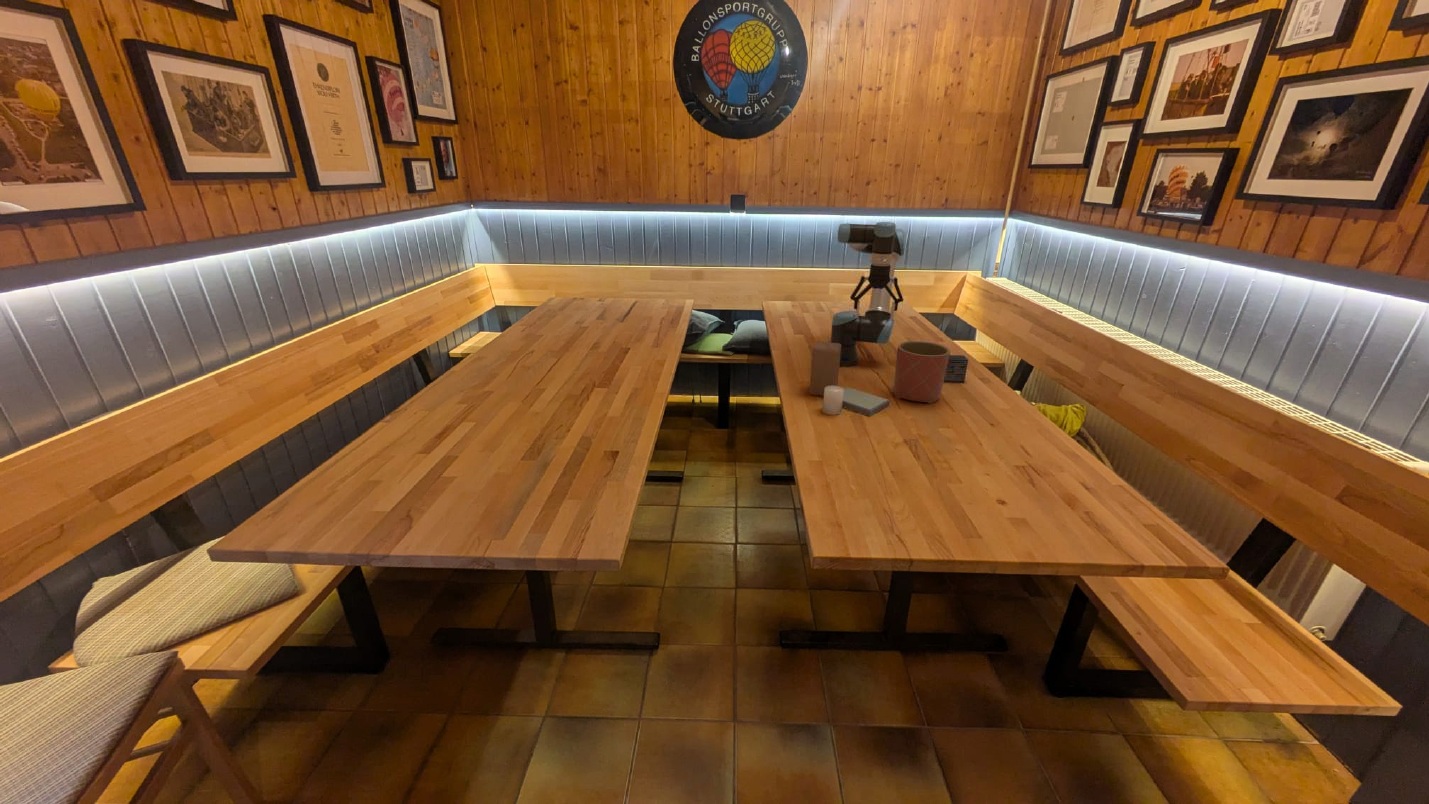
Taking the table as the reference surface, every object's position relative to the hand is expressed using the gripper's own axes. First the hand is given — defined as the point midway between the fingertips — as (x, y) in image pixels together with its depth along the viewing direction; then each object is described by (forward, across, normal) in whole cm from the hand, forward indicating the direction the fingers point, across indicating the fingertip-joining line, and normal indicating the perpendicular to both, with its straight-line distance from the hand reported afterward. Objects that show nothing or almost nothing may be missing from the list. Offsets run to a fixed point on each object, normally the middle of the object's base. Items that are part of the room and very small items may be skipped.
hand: (874, 318), depth 222 cm
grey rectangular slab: (+28, -5, -22) cm, 36 cm away
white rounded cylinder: (+28, -15, -31) cm, 45 cm away
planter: (+28, +19, -10) cm, 35 cm away
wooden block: (+28, -18, -13) cm, 36 cm away
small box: (+29, +36, +11) cm, 47 cm away
